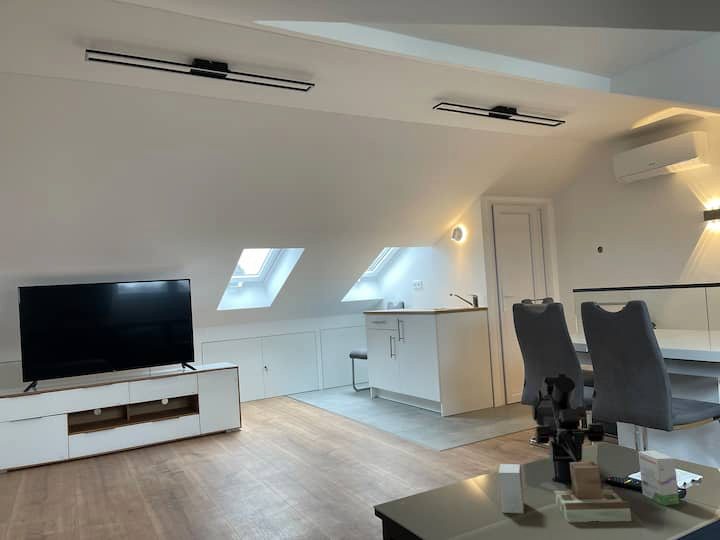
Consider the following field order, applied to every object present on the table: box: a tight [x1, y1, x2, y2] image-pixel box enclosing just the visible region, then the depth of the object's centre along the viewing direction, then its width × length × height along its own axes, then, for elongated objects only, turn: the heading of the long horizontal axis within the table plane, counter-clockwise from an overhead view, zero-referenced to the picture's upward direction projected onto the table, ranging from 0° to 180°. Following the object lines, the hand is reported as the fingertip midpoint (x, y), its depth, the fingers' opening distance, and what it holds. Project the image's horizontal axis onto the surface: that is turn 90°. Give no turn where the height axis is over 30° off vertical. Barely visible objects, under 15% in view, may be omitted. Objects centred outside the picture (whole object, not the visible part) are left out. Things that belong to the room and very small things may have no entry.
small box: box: [497, 463, 525, 514], centre depth 141 cm, size 8×6×10 cm
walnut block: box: [570, 461, 602, 500], centre depth 138 cm, size 5×6×8 cm
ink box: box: [638, 450, 680, 507], centre depth 139 cm, size 8×5×12 cm, turn 6°
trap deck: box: [553, 489, 632, 523], centre depth 135 cm, size 13×15×4 cm
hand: (577, 461), depth 144 cm, fingers closed
